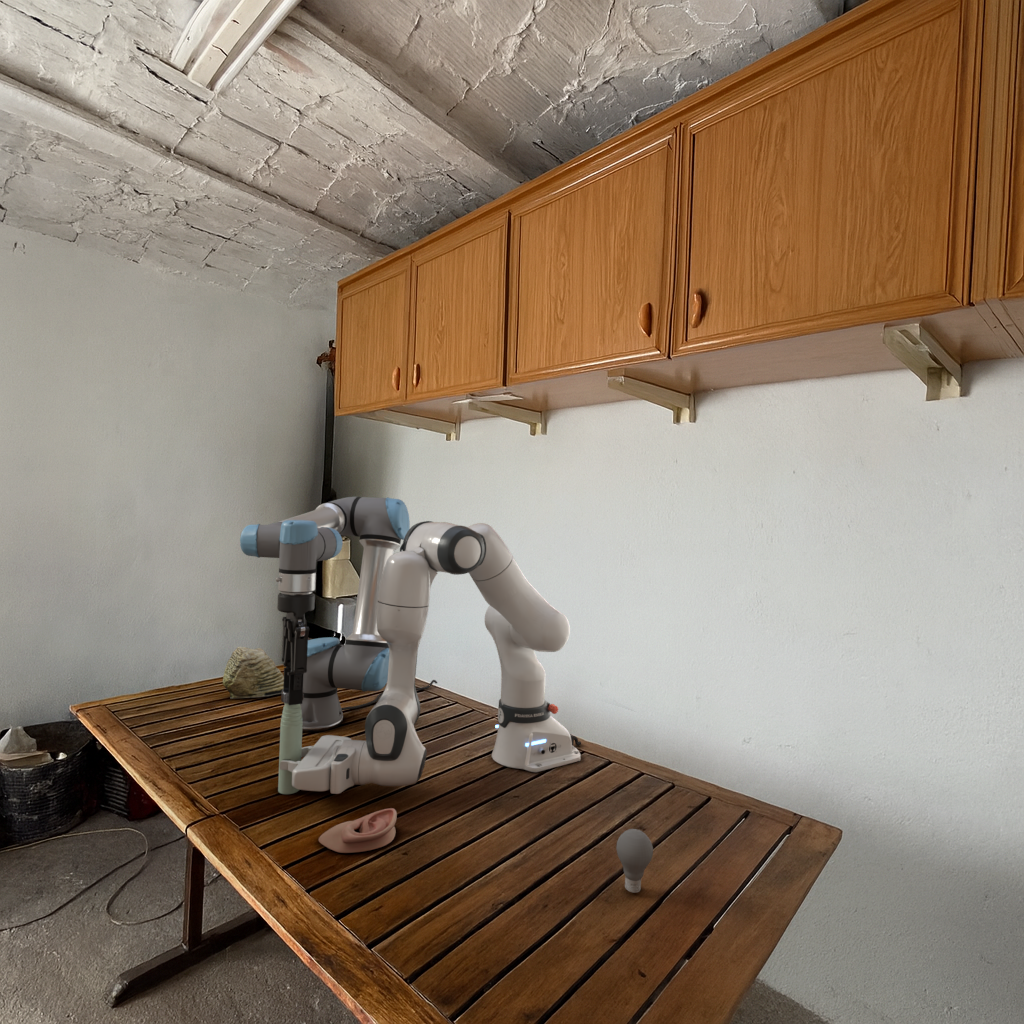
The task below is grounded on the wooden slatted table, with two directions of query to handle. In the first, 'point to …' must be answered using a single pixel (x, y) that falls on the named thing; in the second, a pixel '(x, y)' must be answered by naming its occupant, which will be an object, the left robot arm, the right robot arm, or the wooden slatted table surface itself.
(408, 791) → the wooden slatted table surface
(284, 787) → the bottle
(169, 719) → the wooden slatted table surface
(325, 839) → the anatomical model
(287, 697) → the cap
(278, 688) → the fossil
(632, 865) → the light bulb
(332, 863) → the wooden slatted table surface
